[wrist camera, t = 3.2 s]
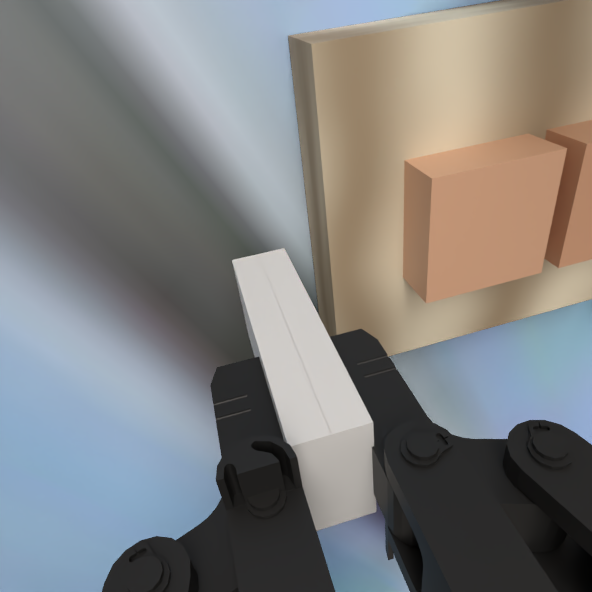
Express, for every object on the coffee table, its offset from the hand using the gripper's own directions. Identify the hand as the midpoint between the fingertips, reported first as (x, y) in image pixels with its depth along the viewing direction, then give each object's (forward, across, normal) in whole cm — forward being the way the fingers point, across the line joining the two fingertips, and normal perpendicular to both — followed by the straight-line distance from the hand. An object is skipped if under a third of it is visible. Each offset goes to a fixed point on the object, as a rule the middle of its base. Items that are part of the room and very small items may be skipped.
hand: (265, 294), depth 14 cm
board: (+5, +10, 0) cm, 11 cm away
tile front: (+2, +8, 0) cm, 8 cm away
